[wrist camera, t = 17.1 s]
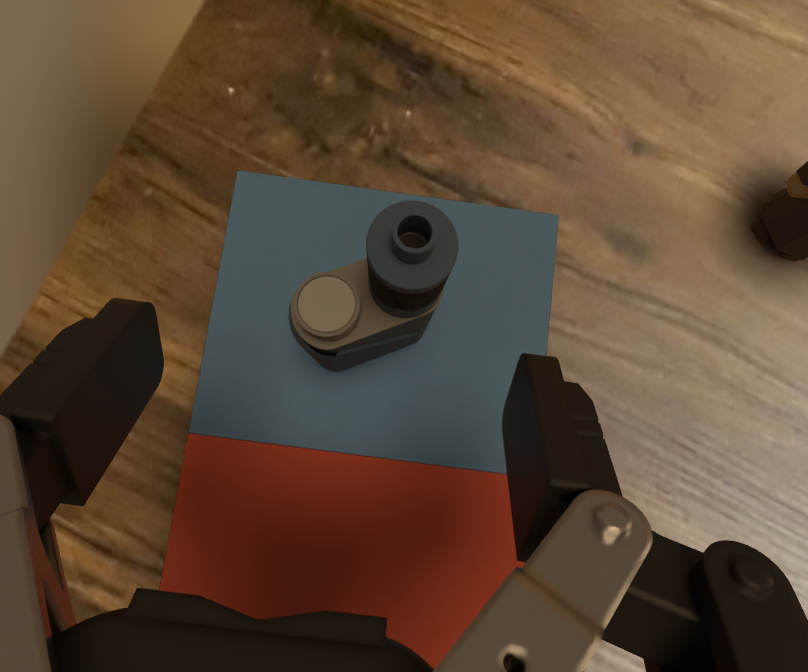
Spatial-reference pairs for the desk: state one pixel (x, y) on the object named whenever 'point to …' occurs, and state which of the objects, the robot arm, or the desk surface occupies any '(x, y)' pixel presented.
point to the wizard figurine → (787, 218)
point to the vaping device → (378, 289)
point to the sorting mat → (357, 423)
